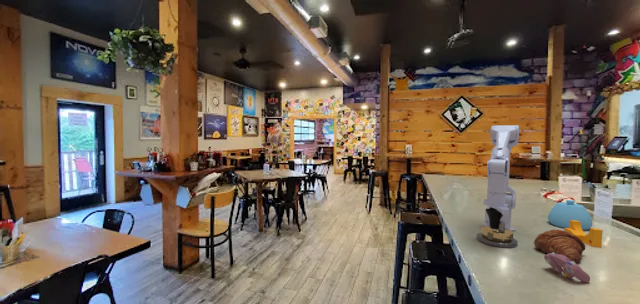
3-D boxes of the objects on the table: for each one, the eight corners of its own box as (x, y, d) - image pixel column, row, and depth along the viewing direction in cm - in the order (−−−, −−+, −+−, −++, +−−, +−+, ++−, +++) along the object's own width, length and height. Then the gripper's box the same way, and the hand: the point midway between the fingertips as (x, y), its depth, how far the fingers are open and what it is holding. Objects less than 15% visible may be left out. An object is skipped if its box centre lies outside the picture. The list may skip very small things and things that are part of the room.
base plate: (468, 236, 112) (468, 233, 112) (495, 234, 116) (495, 230, 115) (497, 249, 100) (497, 245, 99) (526, 246, 103) (526, 242, 103)
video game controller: (547, 272, 86) (538, 252, 86) (559, 265, 87) (551, 245, 86) (579, 290, 77) (570, 267, 76) (593, 281, 77) (584, 259, 76)
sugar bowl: (587, 224, 131) (588, 199, 130) (596, 233, 118) (598, 206, 117) (545, 219, 139) (546, 195, 138) (549, 227, 126) (551, 201, 125)
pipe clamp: (563, 235, 115) (564, 219, 115) (575, 236, 115) (576, 220, 114) (587, 247, 103) (589, 229, 103) (601, 247, 103) (602, 230, 103)
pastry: (517, 246, 103) (518, 224, 103) (543, 241, 109) (544, 220, 109) (572, 266, 88) (574, 240, 87) (600, 258, 94) (602, 234, 93)
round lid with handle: (477, 232, 113) (478, 214, 113) (505, 234, 111) (506, 216, 111) (487, 241, 103) (488, 222, 103) (518, 243, 102) (519, 223, 101)
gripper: (519, 197, 96) (517, 236, 97) (498, 188, 111) (496, 222, 112) (497, 196, 97) (495, 235, 98) (478, 187, 112) (477, 222, 113)
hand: (494, 228), depth 105 cm, fingers closed, pressing on round lid with handle
